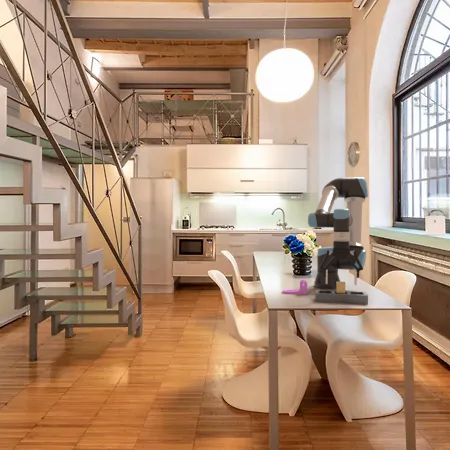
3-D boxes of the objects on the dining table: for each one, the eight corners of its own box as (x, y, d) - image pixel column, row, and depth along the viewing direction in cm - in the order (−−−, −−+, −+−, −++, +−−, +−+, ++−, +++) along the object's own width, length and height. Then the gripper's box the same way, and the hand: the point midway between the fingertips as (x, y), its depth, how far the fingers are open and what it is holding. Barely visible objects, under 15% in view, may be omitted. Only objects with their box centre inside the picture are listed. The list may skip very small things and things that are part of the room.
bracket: (306, 292, 214) (306, 279, 214) (307, 294, 209) (307, 281, 208) (282, 291, 216) (282, 279, 216) (282, 293, 211) (282, 280, 210)
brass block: (336, 299, 196) (336, 281, 195) (344, 300, 195) (344, 281, 195) (336, 301, 192) (336, 282, 192) (345, 301, 191) (345, 283, 191)
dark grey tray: (315, 297, 200) (315, 289, 200) (365, 299, 195) (365, 291, 195) (315, 301, 191) (315, 293, 191) (368, 304, 186) (368, 295, 186)
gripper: (315, 240, 191) (314, 284, 192) (369, 241, 186) (369, 286, 186) (314, 239, 199) (314, 281, 199) (367, 240, 193) (366, 283, 194)
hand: (340, 284), depth 193 cm, fingers open, 13 cm apart
